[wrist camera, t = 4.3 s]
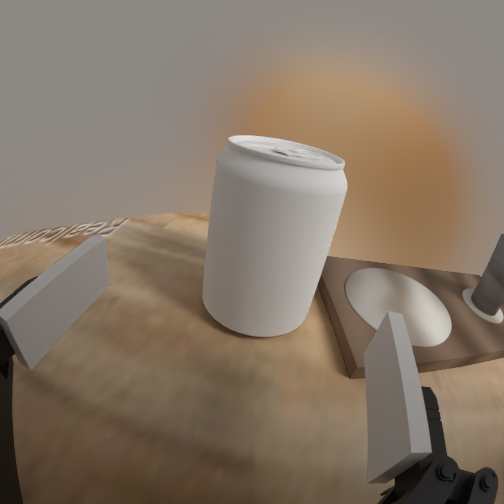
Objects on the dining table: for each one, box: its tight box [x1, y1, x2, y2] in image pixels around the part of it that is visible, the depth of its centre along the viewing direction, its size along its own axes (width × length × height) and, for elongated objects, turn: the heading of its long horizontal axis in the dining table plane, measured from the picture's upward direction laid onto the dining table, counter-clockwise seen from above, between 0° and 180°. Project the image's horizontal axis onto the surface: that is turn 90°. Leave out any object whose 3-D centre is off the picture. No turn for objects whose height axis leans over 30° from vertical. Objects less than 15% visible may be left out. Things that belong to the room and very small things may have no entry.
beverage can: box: [202, 135, 347, 337], centre depth 20 cm, size 8×8×12 cm
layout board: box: [318, 234, 504, 378], centre depth 23 cm, size 26×14×9 cm, turn 92°
